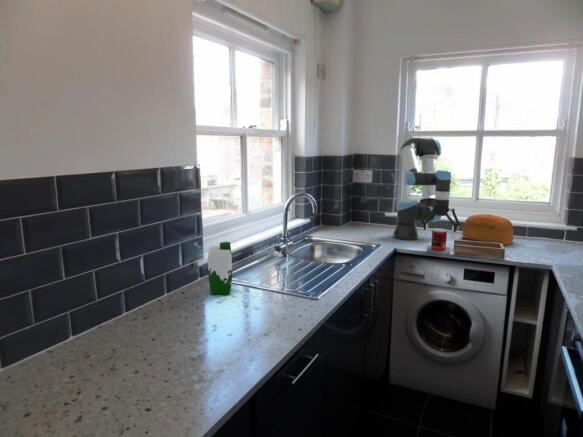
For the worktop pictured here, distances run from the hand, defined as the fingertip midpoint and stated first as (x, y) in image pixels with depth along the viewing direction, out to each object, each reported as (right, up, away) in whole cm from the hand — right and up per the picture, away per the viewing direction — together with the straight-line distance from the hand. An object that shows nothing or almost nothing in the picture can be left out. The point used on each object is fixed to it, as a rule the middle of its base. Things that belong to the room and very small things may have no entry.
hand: (438, 236), depth 228 cm
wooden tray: (+19, -9, -6) cm, 21 cm away
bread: (+38, -3, +24) cm, 45 cm away
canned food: (0, -7, +1) cm, 7 cm away
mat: (0, -7, +1) cm, 7 cm away
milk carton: (-110, -19, -65) cm, 129 cm away
